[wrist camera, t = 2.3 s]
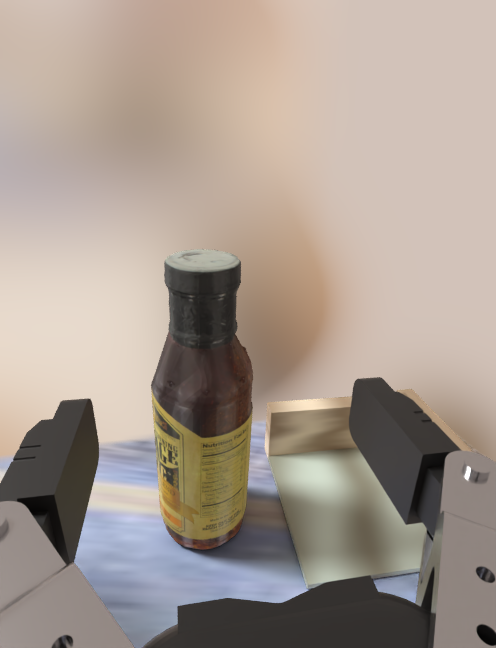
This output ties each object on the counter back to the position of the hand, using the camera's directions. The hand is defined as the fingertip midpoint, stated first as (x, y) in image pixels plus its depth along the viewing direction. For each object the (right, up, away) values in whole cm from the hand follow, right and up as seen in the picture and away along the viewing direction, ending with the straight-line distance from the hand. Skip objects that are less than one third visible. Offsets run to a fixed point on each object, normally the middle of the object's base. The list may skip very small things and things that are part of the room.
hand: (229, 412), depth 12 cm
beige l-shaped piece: (+10, -11, +20) cm, 25 cm away
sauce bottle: (-3, -12, +17) cm, 21 cm away
